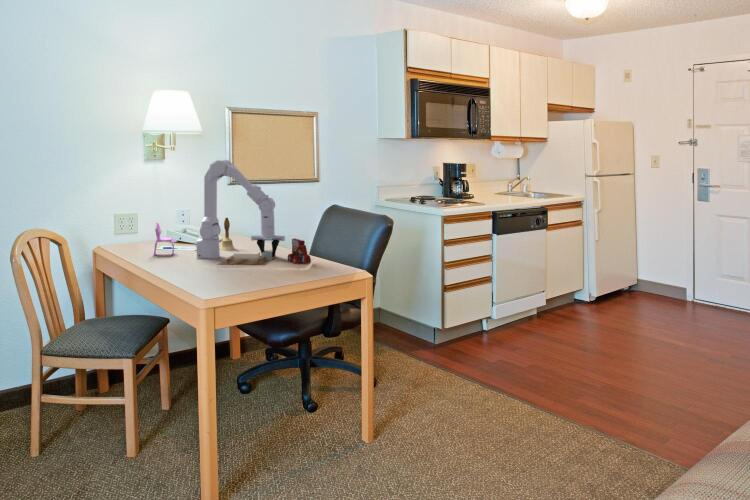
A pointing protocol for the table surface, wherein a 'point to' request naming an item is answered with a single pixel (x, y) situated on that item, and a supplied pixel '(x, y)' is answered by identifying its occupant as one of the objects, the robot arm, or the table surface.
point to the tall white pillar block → (247, 255)
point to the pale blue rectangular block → (267, 254)
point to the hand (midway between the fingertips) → (268, 256)
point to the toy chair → (161, 238)
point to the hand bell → (227, 238)
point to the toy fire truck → (299, 252)
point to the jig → (244, 261)
